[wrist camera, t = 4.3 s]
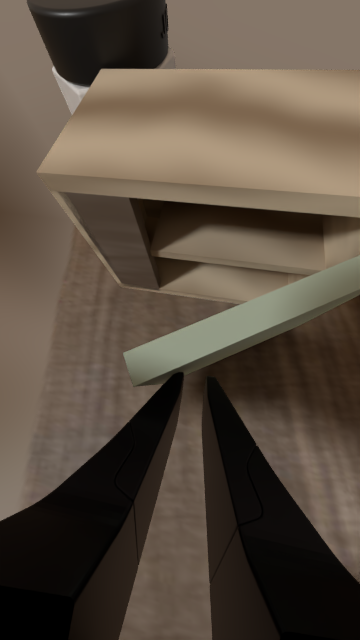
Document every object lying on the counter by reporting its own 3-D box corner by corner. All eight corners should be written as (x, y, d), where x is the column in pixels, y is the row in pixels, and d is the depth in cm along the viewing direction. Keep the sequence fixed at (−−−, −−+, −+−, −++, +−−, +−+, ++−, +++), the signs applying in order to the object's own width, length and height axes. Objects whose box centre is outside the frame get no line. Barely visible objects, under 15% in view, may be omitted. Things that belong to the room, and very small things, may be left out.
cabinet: (293, 312, 16) (453, 203, 6) (120, 287, 18) (36, 172, 8) (292, 231, 19) (402, 70, 9) (143, 216, 20) (101, 68, 11)
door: (299, 325, 15) (429, 259, 7) (166, 383, 14) (133, 386, 6) (291, 313, 15) (405, 236, 7) (161, 369, 15) (123, 353, 6)
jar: (194, 194, 21) (198, -24, 10) (135, 229, 20) (61, 26, 9) (152, 156, 24) (117, -50, 12) (98, 185, 22) (3, -15, 11)
